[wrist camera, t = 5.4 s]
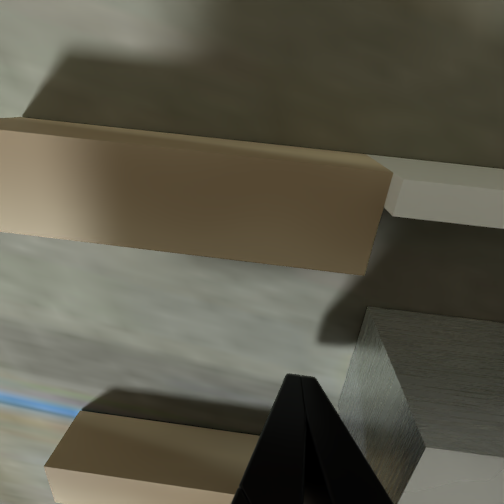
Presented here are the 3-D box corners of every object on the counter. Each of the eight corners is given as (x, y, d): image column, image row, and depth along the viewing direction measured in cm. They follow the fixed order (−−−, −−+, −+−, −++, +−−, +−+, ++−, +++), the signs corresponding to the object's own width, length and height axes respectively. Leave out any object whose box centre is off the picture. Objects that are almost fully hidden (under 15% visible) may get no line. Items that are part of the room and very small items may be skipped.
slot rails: (289, 474, 12) (290, 538, 11) (87, 445, 13) (54, 502, 11) (365, 153, 7) (392, 172, 5) (19, 116, 7) (-64, 122, 6)
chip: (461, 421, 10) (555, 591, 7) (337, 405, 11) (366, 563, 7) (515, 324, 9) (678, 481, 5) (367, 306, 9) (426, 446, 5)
